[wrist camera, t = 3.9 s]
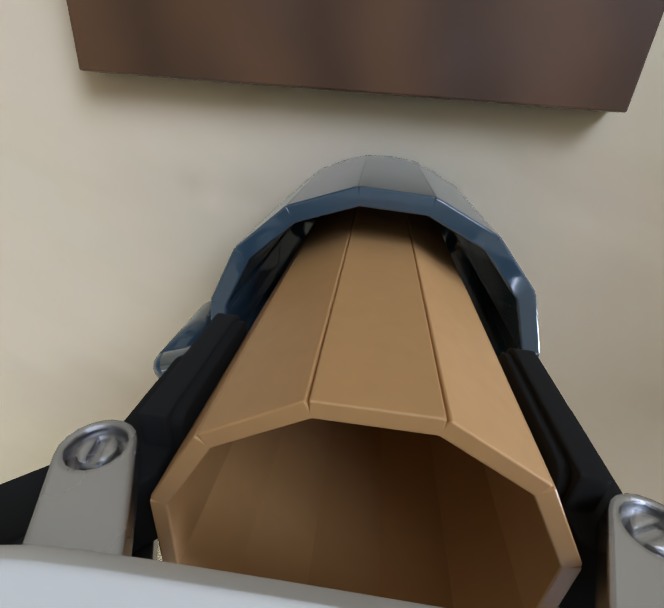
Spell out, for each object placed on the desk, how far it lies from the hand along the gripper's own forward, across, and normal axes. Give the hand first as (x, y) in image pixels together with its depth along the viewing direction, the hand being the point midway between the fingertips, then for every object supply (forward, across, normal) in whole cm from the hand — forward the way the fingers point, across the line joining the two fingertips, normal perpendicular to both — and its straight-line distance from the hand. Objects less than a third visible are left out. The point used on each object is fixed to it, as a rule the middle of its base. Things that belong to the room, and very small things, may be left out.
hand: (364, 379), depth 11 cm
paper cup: (+8, 0, 0) cm, 8 cm away
